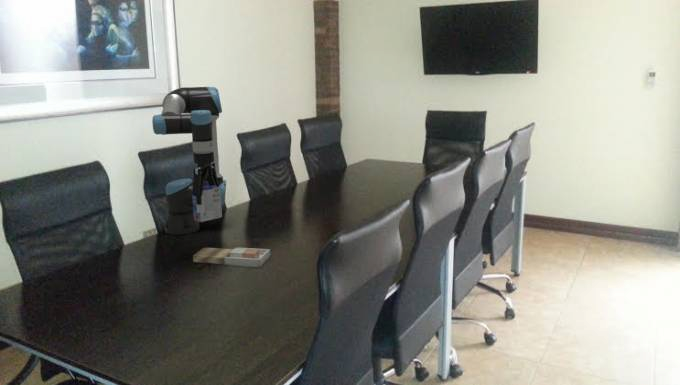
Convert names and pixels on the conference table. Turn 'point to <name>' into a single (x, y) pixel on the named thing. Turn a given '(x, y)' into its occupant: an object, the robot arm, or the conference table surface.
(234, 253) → the tile
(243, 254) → the tile
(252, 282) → the conference table surface
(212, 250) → the board
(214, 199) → the ink cartridge box
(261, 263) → the tray
